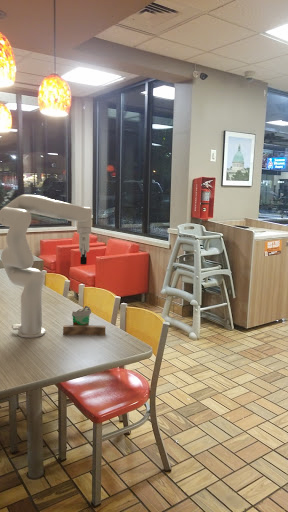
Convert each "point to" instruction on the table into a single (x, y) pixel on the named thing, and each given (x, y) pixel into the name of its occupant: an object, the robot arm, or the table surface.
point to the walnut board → (83, 330)
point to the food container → (81, 316)
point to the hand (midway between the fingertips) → (83, 264)
